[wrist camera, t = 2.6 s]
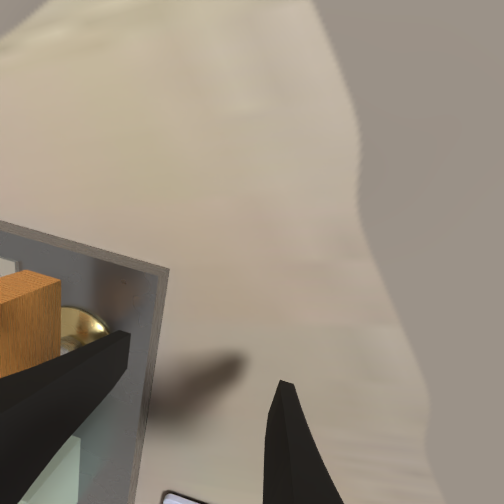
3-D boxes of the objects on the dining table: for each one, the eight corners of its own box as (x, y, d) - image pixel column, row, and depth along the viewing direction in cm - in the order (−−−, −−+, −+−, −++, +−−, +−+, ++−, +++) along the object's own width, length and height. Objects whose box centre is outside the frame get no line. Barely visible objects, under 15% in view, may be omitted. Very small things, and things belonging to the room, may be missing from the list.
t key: (94, 270, 12) (-14, 314, 8) (89, 371, 14) (-1, 453, 10) (53, 258, 12) (-75, 295, 8) (53, 359, 14) (-51, 435, 10)
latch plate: (169, 268, 13) (156, 277, 12) (133, 505, 19) (122, 529, 18) (-59, 203, 14) (-94, 205, 13) (-26, 447, 20) (-48, 465, 19)
